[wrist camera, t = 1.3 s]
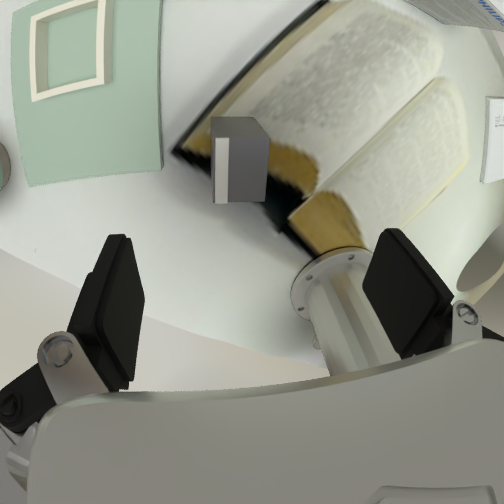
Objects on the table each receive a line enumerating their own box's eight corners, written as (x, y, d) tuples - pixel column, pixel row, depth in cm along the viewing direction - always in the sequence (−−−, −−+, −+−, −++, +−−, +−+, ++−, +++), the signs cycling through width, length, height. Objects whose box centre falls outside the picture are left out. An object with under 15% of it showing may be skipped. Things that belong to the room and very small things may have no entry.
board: (162, 165, 23) (161, 170, 23) (34, 181, 21) (28, 187, 20) (165, -29, 13) (163, -33, 12) (19, 12, 10) (13, 12, 9)
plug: (250, 165, 25) (265, 202, 19) (210, 165, 24) (213, 204, 19) (253, 117, 22) (270, 139, 16) (211, 116, 22) (213, 138, 16)
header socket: (112, 81, 17) (104, 83, 15) (43, 98, 16) (31, 102, 14) (114, -4, 12) (106, -9, 11) (42, 18, 11) (30, 16, 10)
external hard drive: (477, 179, 30) (482, 95, 22) (505, 171, 29) (511, 96, 21) (484, 184, 28) (491, 98, 20) (512, 176, 28) (519, 100, 20)
